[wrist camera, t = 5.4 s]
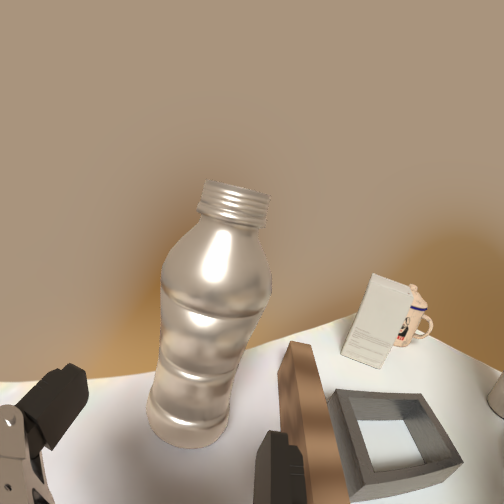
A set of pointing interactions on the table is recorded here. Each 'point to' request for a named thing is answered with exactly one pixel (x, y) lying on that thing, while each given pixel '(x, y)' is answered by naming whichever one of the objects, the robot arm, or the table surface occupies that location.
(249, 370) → the table surface
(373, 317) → the supplement box
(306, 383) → the wooden plank
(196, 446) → the silver bottle
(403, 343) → the teacup with lid
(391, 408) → the keeper
